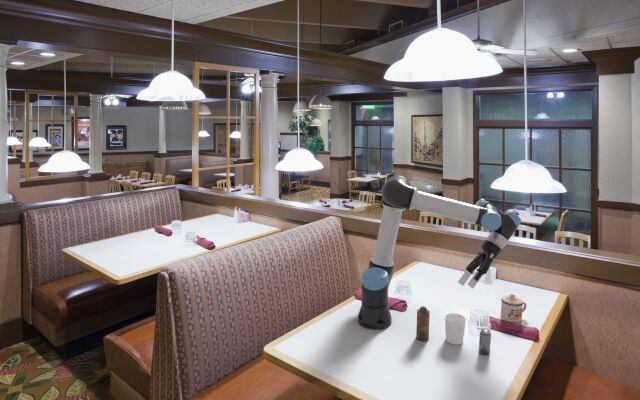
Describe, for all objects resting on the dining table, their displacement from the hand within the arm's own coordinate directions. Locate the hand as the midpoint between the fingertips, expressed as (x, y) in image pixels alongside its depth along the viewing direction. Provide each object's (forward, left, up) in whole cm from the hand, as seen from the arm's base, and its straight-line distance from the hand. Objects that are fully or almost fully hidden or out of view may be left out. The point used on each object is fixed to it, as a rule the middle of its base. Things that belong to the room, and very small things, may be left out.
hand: (465, 285), depth 175 cm
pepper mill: (-13, -15, -20) cm, 28 cm away
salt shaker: (+11, -15, -20) cm, 27 cm away
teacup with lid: (+19, +21, -20) cm, 35 cm away
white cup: (-1, -11, -20) cm, 23 cm away
